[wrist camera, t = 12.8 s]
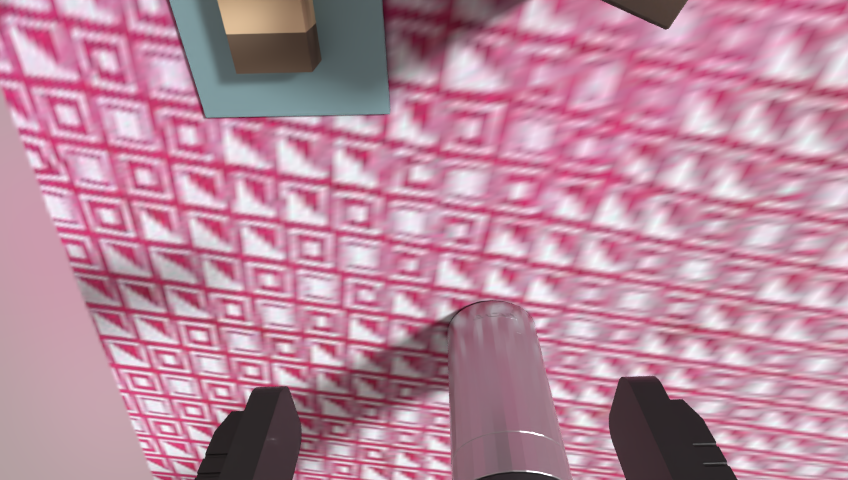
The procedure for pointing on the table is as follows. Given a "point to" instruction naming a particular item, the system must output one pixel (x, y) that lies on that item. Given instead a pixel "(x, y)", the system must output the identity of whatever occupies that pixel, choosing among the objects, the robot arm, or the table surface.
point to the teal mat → (292, 92)
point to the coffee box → (652, 10)
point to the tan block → (271, 35)
